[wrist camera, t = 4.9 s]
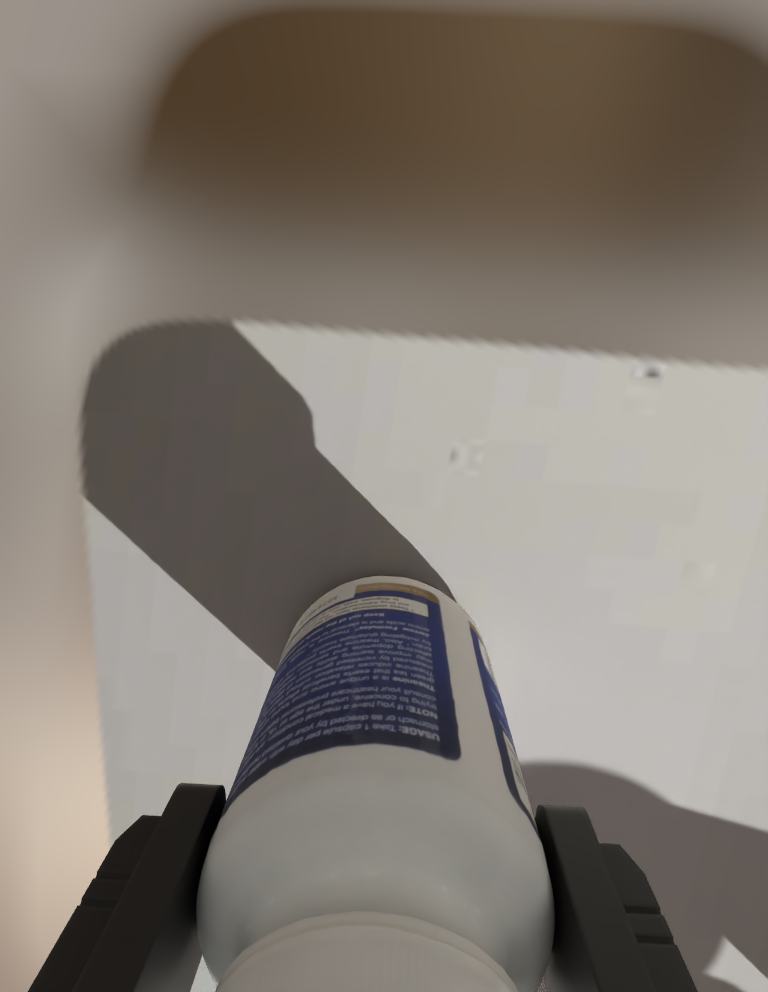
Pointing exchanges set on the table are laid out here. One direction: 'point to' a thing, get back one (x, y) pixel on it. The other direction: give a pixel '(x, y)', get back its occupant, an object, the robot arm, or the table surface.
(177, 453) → the table surface
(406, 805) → the pill bottle
